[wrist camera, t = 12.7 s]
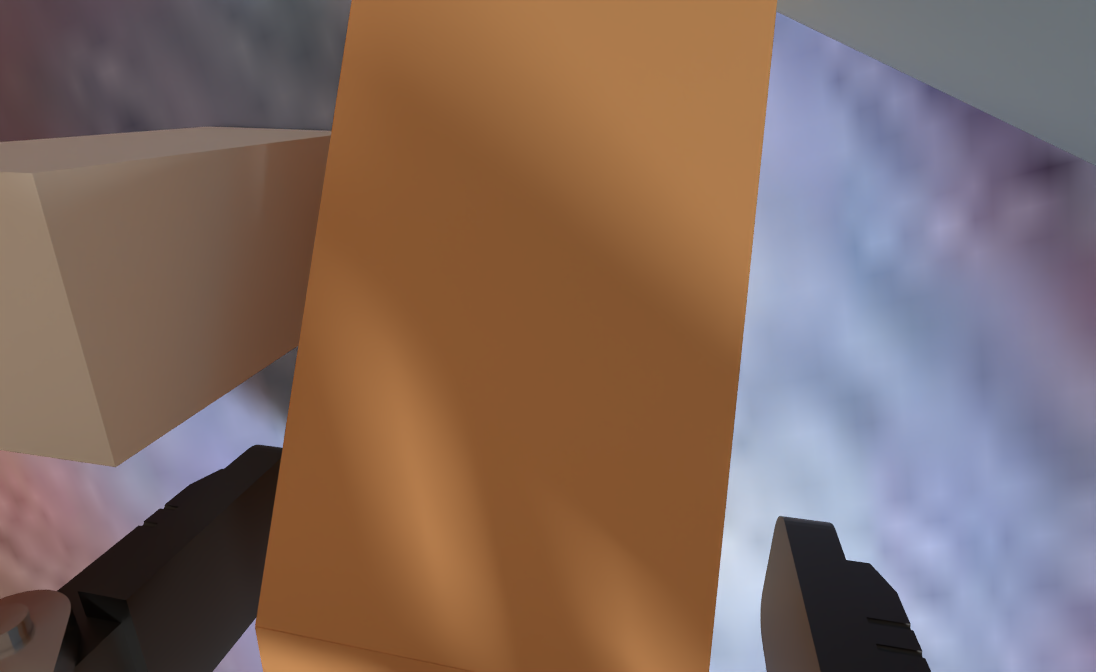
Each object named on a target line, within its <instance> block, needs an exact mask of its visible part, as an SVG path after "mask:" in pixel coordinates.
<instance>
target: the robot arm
mask: <svg viewBox="0 0 1096 672" xmlns="http://www.w3.org/2000/svg"><path fill="white" fill-rule="evenodd" d="M282 449H283V448H280V447H272V446H265V445H254V446H252V447H250V448H249V449H248V450H246V451H245V452H244V453H243V454H242V455H240V456H239V457H238V458H237V459H236V460H234V461H233V462H232V463H231V464H230V465H228V466H227V467H226V468H225V469H221V470H218V471H216V472H214V473H212V474H210V475H208V476H206V477H204V478H202V479H200V480H198V481H196V482H194V483H192V484H190V485H189V486H187V487H186V488H185V489H184V490H182V491H181V492H180V493H179V494H177V495H176V496H175V497H174V498H172V499H171V500H170V501H169V502H167V503H166V504H165V507H164V509H159V510H158V511H156V512H155V513H154V514H153V515H151V516H150V517H149V518H148V519H146V520H145V521H144V525H143V526H138V527H136V528H135V529H134V530H133V531H131V532H130V533H129V534H128V535H126V536H125V537H124V538H123V539H121V540H120V541H119V542H118V543H116V544H115V545H114V546H113V547H111V548H110V549H109V550H108V551H106V552H105V553H104V554H103V555H101V556H100V557H99V558H98V559H96V560H95V561H94V562H93V563H91V564H90V565H89V566H88V567H86V568H85V569H84V570H83V571H82V572H80V573H79V574H78V575H77V576H75V577H74V578H73V579H72V580H70V581H69V582H68V583H67V584H65V585H64V586H63V587H62V588H60V589H59V590H58V591H52V590H33V591H26V592H22V593H17V594H14V595H11V596H7V597H4V598H2V599H0V672H213V670H214V669H215V668H216V667H217V665H218V664H219V663H220V662H221V660H222V659H223V658H224V657H225V656H226V654H227V653H228V652H229V651H230V649H231V648H232V647H233V646H234V644H235V643H236V642H237V641H238V639H239V638H240V637H241V636H242V634H243V633H244V632H245V631H246V629H247V628H248V627H249V626H250V624H251V623H252V622H253V621H254V620H255V618H256V617H257V611H258V605H259V598H260V592H261V585H262V579H263V572H264V566H265V559H266V553H267V546H268V540H269V534H270V527H271V521H272V514H273V508H274V501H275V495H276V488H277V482H278V475H279V469H280V462H281V456H282ZM761 636H762V643H763V650H764V656H765V663H766V670H767V672H931V670H930V668H929V666H928V664H927V661H926V659H925V658H923V657H922V650H921V647H920V645H919V643H918V640H917V638H916V636H915V633H914V631H913V630H911V629H910V622H909V620H908V617H907V615H906V613H905V610H904V608H903V606H902V603H901V601H900V599H899V596H898V594H897V592H896V591H895V590H894V589H893V588H892V587H891V586H890V585H889V583H888V582H887V581H886V580H885V579H884V578H883V577H882V576H881V575H880V574H879V573H878V572H877V571H876V570H875V568H874V567H873V566H872V565H871V564H870V563H863V562H856V561H849V560H846V558H845V555H844V553H843V550H842V547H841V544H840V541H839V538H838V536H837V533H836V530H835V528H834V526H833V524H831V523H828V522H821V521H813V520H806V519H798V518H791V517H784V516H779V517H778V519H777V521H776V525H775V529H774V534H773V539H772V545H771V550H770V555H769V560H768V566H767V571H766V576H765V581H764V586H763V592H762V599H761Z"/></svg>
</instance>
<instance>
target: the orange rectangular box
mask: <svg viewBox="0 0 1096 672" xmlns="http://www.w3.org/2000/svg"><path fill="white" fill-rule="evenodd" d="M776 8H777V0H352V2H351V8H350V15H349V21H348V28H347V34H346V41H345V47H344V54H343V60H342V67H341V73H340V80H339V86H338V93H337V99H336V106H335V112H334V118H333V125H332V131H331V138H330V144H329V151H328V157H327V164H326V170H325V177H324V183H323V190H322V196H321V203H320V209H319V216H318V222H317V229H316V235H315V242H314V248H313V255H312V261H311V268H310V274H309V281H308V287H307V294H306V300H305V307H304V313H303V320H302V326H301V332H300V339H299V345H298V352H297V358H296V365H295V371H294V378H293V384H292V391H291V397H290V404H289V410H288V417H287V423H286V430H285V436H284V443H283V449H282V456H281V462H280V469H279V475H278V482H277V488H276V495H275V501H274V508H273V514H272V521H271V527H270V534H269V540H268V546H267V553H266V559H265V566H264V572H263V579H262V585H261V592H260V598H259V605H258V611H257V618H256V624H255V629H256V635H257V640H258V646H259V651H260V657H261V662H262V668H263V672H709V666H710V656H711V646H712V636H713V627H714V617H715V607H716V597H717V587H718V577H719V568H720V558H721V548H722V538H723V528H724V519H725V509H726V499H727V489H728V479H729V469H730V460H731V450H732V440H733V430H734V420H735V411H736V401H737V391H738V381H739V371H740V361H741V352H742V342H743V332H744V322H745V312H746V303H747V293H748V283H749V273H750V263H751V253H752V244H753V234H754V224H755V214H756V204H757V195H758V185H759V175H760V165H761V155H762V145H763V136H764V126H765V116H766V106H767V96H768V86H769V77H770V67H771V57H772V47H773V37H774V28H775V18H776Z"/></svg>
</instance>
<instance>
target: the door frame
mask: <svg viewBox="0 0 1096 672" xmlns="http://www.w3.org/2000/svg"><path fill="white" fill-rule="evenodd" d="M330 138H331V131H324V130H295V129H266V128H238V127H209V126H208V127H195V128H181V129H168V130H155V131H141V132H128V133H115V134H101V135H88V136H75V137H62V138H48V139H35V140H22V141H8V142H0V450H4V451H10V452H17V453H24V454H31V455H38V456H44V457H51V458H58V459H65V460H71V461H78V462H85V463H92V464H99V465H105V466H112V467H117V466H118V465H120V464H121V463H123V462H124V461H126V460H127V459H129V458H130V457H132V456H133V455H135V454H136V453H138V452H139V451H141V450H142V449H144V448H145V447H147V446H148V445H150V444H151V443H153V442H154V441H156V440H157V439H159V438H160V437H162V436H163V435H165V434H166V433H168V432H169V431H171V430H172V429H174V428H175V427H177V426H178V425H180V424H181V423H183V422H184V421H186V420H187V419H189V418H190V417H192V416H193V415H195V414H196V413H198V412H199V411H201V410H202V409H204V408H205V407H207V406H208V405H210V404H211V403H213V402H214V401H216V400H217V399H219V398H220V397H222V396H223V395H225V394H226V393H228V392H229V391H231V390H232V389H234V388H235V387H237V386H238V385H240V384H241V383H243V382H244V381H246V380H247V379H249V378H250V377H252V376H253V375H255V374H256V373H258V372H259V371H261V370H262V369H264V368H265V367H267V366H268V365H270V364H271V363H273V362H274V361H276V360H277V359H279V358H280V357H282V356H283V355H285V354H286V353H288V352H289V351H291V350H292V349H294V348H295V347H297V346H298V345H299V339H300V332H301V326H302V320H303V313H304V307H305V300H306V294H307V287H308V281H309V274H310V268H311V261H312V255H313V248H314V242H315V235H316V229H317V222H318V216H319V209H320V203H321V196H322V190H323V183H324V177H325V170H326V164H327V157H328V151H329V144H330Z"/></svg>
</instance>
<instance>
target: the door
mask: <svg viewBox="0 0 1096 672" xmlns="http://www.w3.org/2000/svg"><path fill="white" fill-rule="evenodd" d="M776 11H777V12H779V13H781V14H783V15H785V16H787V17H789V18H791V19H793V20H795V21H797V22H799V23H801V24H803V25H806V26H808V27H810V28H812V29H814V30H816V31H818V32H820V33H822V34H824V35H826V36H828V37H830V38H832V39H834V40H837V41H839V42H841V43H843V44H845V45H847V46H849V47H851V48H853V49H855V50H857V51H859V52H861V53H863V54H866V55H868V56H870V57H872V58H874V59H876V60H878V61H880V62H882V63H884V64H886V65H888V66H890V67H892V68H894V69H897V70H899V71H901V72H903V73H905V74H907V75H909V76H911V77H913V78H915V79H917V80H919V81H921V82H923V83H926V84H928V85H930V86H932V87H934V88H936V89H938V90H940V91H942V92H944V93H946V94H948V95H950V96H952V97H954V98H957V99H959V100H961V101H963V102H965V103H967V104H969V105H971V106H973V107H975V108H977V109H979V110H981V111H983V112H986V113H988V114H990V115H992V116H994V117H996V118H998V119H1000V120H1002V121H1004V122H1006V123H1008V124H1010V125H1012V126H1015V127H1017V128H1019V129H1021V130H1023V131H1025V132H1027V133H1029V134H1031V135H1033V136H1035V137H1037V138H1039V139H1041V140H1043V141H1046V142H1048V143H1050V144H1052V145H1054V146H1056V147H1058V148H1060V149H1062V150H1064V151H1066V152H1068V153H1070V154H1072V155H1075V156H1077V157H1079V158H1081V159H1083V160H1085V161H1087V162H1089V163H1091V164H1093V165H1095V166H1096V0H777V8H776Z"/></svg>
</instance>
